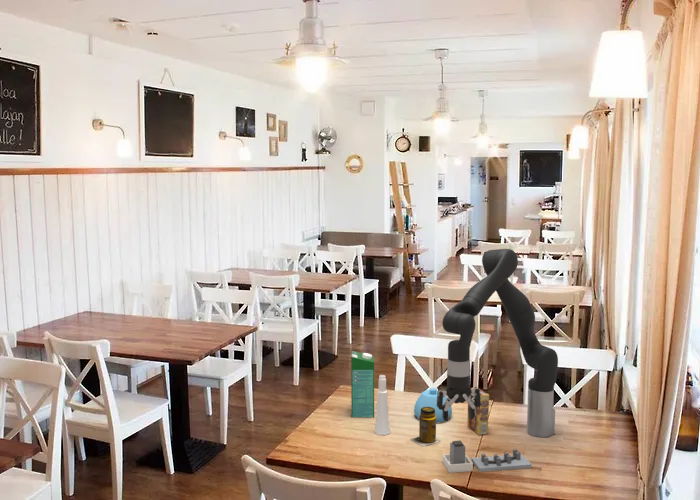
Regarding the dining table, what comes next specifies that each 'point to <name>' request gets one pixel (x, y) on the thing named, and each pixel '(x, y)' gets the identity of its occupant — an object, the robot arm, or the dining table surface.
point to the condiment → (427, 427)
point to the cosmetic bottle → (382, 409)
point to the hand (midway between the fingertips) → (458, 419)
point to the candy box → (479, 414)
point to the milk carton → (362, 384)
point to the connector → (457, 452)
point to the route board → (501, 462)
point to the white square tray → (457, 467)
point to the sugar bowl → (430, 404)
